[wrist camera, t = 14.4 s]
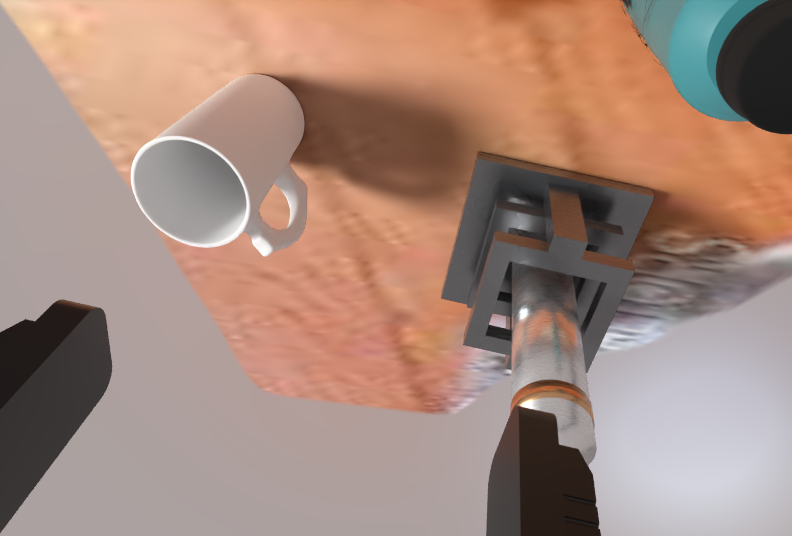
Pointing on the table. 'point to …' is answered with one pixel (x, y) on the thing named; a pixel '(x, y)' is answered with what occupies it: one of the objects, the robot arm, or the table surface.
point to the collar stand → (542, 244)
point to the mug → (225, 167)
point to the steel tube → (550, 353)
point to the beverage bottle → (724, 55)
